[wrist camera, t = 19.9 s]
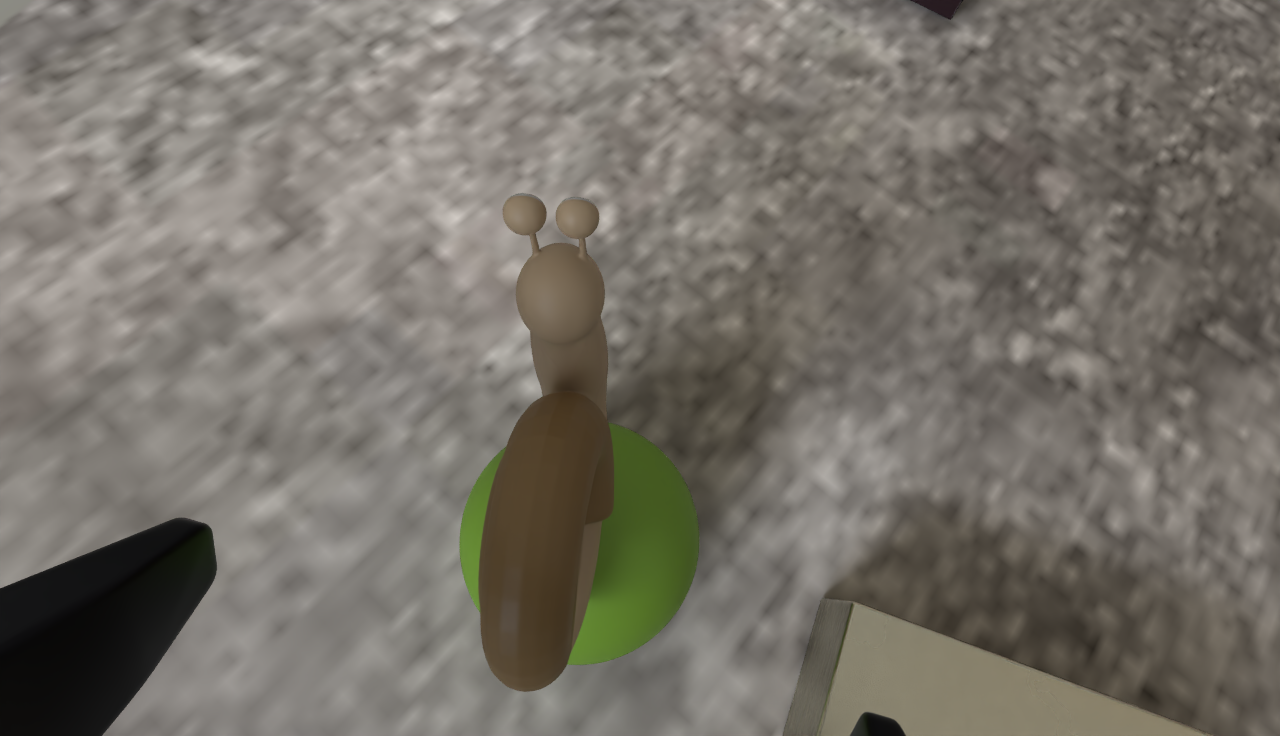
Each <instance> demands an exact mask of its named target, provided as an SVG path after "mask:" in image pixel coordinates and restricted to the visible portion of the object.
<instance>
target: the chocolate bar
mask: <svg viewBox="0 0 1280 736" xmlns="http://www.w3.org/2000/svg"><path fill="white" fill-rule="evenodd" d="M911 1H913V2H915V3H918V4H920V5H922V6H924V7H926V8H928V9H930V10H932V11H934V12H936V13H938V14H940V15H942V16H944V17H946V18H948V19H950V20H951V18H952V17H953V15H954V13H955V12H956V10H957V9H958V7H959V5H960V4H961V2H962V1H963V0H911Z"/></svg>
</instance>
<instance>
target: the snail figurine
mask: <svg viewBox="0 0 1280 736" xmlns="http://www.w3.org/2000/svg"><path fill="white" fill-rule="evenodd" d="M503 218H504V221H505V223H506V225H507V226H508V228H509V229H510V230H512V231H513V232H515V233H517V234H519V235H529V236H530V240H531V244H532V250H533V254H532V256H531V257H530V258H529V259H528V260H527V262H526V263H525V265H524V266H523V268H522V270H521V272H520V274H519V277H518V281H517V286H516V301H517V306H518V310H519V313H520V316H521V318H522V320H523V322H524V323H525V325H526V326H527V328H528V329H529V330H530V335H531V348H532V355H533V361H534V366H535V370H536V373H537V377H538V380H539V382H540V385H541V389H542V394H543V397H541V398H539V399H538V400H536V401H535V402H533V403H532V404H531V405H530V406H529V407H528V408H527V410H526V411H525V412H524V413H523V415H522V416H521V417H520V419H519V420H518V422H517V423H516V425H515V427H514V429H513V431H512V434H511V436H510V438H509V441H508V444H507V446H506V447H505V448H504V449H503V450H501V451H500V452H499V453H498V454H497V455H496V456H495V457H494V458H493V459H492V461H491V462H490V463H489V464H488V465H487V467H486V468H485V469H484V471H483V472H482V473H481V475H480V476H479V478H478V480H477V481H476V483H475V485H474V487H473V489H472V491H471V493H470V496H469V498H468V501H467V503H466V506H465V510H464V513H463V518H462V523H461V530H460V559H461V566H462V571H463V575H464V579H465V582H466V585H467V588H468V591H469V593H470V595H471V597H472V599H473V601H474V603H475V605H476V607H477V609H478V610H479V612H480V614H481V636H482V644H483V649H484V653H485V656H486V659H487V662H488V664H489V667H490V669H491V671H492V672H493V673H494V675H495V676H496V677H497V678H498V679H499V680H500V681H501V682H502V683H503V684H505V685H506V686H507V687H509V688H512V689H515V690H518V691H524V692H527V691H535V690H539V689H542V688H544V687H546V686H547V685H549V684H551V683H552V682H553V681H555V680H556V679H557V678H558V677H559V675H560V674H561V673H562V672H563V670H564V669H565V667H566V665H567V664H569V665H586V664H595V663H600V662H605V661H609V660H612V659H615V658H618V657H621V656H623V655H625V654H628V653H630V652H632V651H634V650H635V649H637V648H639V647H640V646H642V645H644V644H645V643H646V642H648V641H649V640H650V639H652V638H653V637H654V636H655V635H657V634H658V633H659V632H660V631H661V630H662V629H663V628H664V627H665V626H666V625H667V624H668V622H669V621H670V620H671V619H672V618H673V616H674V615H675V614H676V612H677V611H678V609H679V608H680V606H681V604H682V603H683V601H684V599H685V597H686V595H687V593H688V591H689V588H690V586H691V583H692V581H693V577H694V574H695V570H696V566H697V561H698V553H699V526H698V519H697V514H696V509H695V506H694V502H693V499H692V497H691V494H690V492H689V489H688V487H687V485H686V483H685V481H684V479H683V478H682V476H681V474H680V473H679V471H678V470H677V468H676V467H675V466H674V464H673V463H672V462H671V461H670V459H669V458H668V457H667V456H666V455H665V454H664V453H663V452H662V451H661V450H660V449H659V448H657V447H656V446H655V445H654V444H653V443H651V442H650V441H648V440H647V439H645V438H644V437H642V436H641V435H639V434H637V433H635V432H633V431H631V430H629V429H627V428H624V427H622V426H619V425H616V424H612V423H608V422H607V410H606V390H607V374H608V350H607V341H606V335H605V331H604V327H603V323H602V320H601V316H600V315H601V313H602V309H603V305H604V298H605V289H604V282H603V278H602V275H601V272H600V270H599V268H598V266H597V264H596V263H595V261H594V260H593V259H592V258H591V257H590V256H589V255H588V254H587V250H586V243H585V238H586V237H588V236H589V235H591V234H592V233H593V232H594V231H595V229H596V228H597V226H598V223H599V212H598V209H597V208H596V206H595V205H594V203H593V202H591V201H590V200H588V199H585V198H580V197H571V198H568V199H565V200H564V201H562V202H561V204H560V205H559V206H558V208H557V211H556V222H557V225H558V227H559V229H560V230H561V232H562V233H563V234H565V235H566V236H568V237H570V238H573V239H579V247H577V246H574V245H572V244H568V243H554V244H550V245H547V246H545V247H543V248H541V249H539V245H538V242H537V238H536V234H535V233H536V232H537V231H539V230H540V229H541V228H542V227H543V225H544V223H545V221H546V208H545V206H544V204H543V202H542V201H541V200H540V199H539V198H538V197H536V196H534V195H530V194H523V193H521V194H516V195H513V196H511V197H510V198H509V199H508V200H507V201H506V202H505V204H504V207H503Z"/></svg>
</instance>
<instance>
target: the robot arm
mask: <svg viewBox="0 0 1280 736" xmlns="http://www.w3.org/2000/svg"><path fill="white" fill-rule="evenodd" d="M216 571H217V562H216V555H215V548H214V540H213V533H212V530H211V528H210V527H209V526H208V525H207V524H205V523H201V522H198V521H194V520H191V519H187V518H176V519H172V520H170V521H167V522H165V523H162V524H160V525H157V526H155V527H152V528H150V529H147V530H145V531H142V532H140V533H137V534H135V535H132V536H130V537H127V538H125V539H122V540H120V541H117V542H115V543H112V544H110V545H107V546H105V547H102V548H100V549H97V550H95V551H92V552H90V553H87V554H85V555H82V556H80V557H77V558H75V559H72V560H70V561H67V562H65V563H62V564H60V565H58V566H55V567H53V568H50V569H48V570H45V571H43V572H40V573H38V574H35V575H33V576H30V577H28V578H25V579H23V580H20V581H18V582H15V583H13V584H10V585H8V586H5V587H3V588H0V736H102V735H103V734H104V733H105V731H106V730H107V729H108V728H109V727H110V725H111V724H112V723H113V722H114V720H115V719H116V718H117V717H118V716H119V714H120V713H121V712H122V711H123V710H124V708H125V707H126V706H127V705H128V703H129V702H130V701H131V700H132V698H133V697H134V696H135V695H136V693H137V692H138V691H139V690H140V688H141V687H142V686H143V684H144V683H145V682H146V680H147V679H148V678H149V676H150V675H151V673H152V672H153V671H154V669H155V668H156V666H157V665H158V663H159V662H160V660H161V659H162V657H163V656H164V654H165V653H166V651H167V650H168V649H169V647H170V646H171V644H172V643H173V641H174V640H175V638H176V637H177V635H178V634H179V632H180V631H181V629H182V628H183V626H184V625H185V623H186V622H187V620H188V619H189V617H190V616H191V615H192V613H193V612H194V610H195V609H196V607H197V606H198V604H199V603H200V601H201V600H202V598H203V597H204V595H205V594H206V592H207V591H208V589H209V588H210V586H211V585H212V583H213V581H214V579H215V575H216ZM850 736H906V735H905V733H904V731H903V729H902V728H901V726H900V725H899V724H898V722H897V721H895V720H894V719H892V718H889V717H886V716H882V715H879V714H875V713H871V712H865V713H863V714H862V715H861V716H860V718H859V719H858V721H857V723H856V725H855V727H854V729H853V731H852V733H851V735H850Z"/></svg>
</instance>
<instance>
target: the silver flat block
mask: <svg viewBox="0 0 1280 736" xmlns="http://www.w3.org/2000/svg"><path fill="white" fill-rule="evenodd" d="M865 712H871V713H875V714H879V715H882V716H886V717H889V718H892V719H894V720H895V721H897V722H898V724H899V725H900V726H901V728H902V729H903V731H904V733H905V735H906V736H1216V735H1213V734H1210V733H1208V732H1205V731H1202V730H1200V729H1197V728H1194V727H1192V726H1189V725H1186V724H1184V723H1181V722H1178V721H1175V720H1173V719H1170V718H1167V717H1165V716H1162V715H1159V714H1157V713H1154V712H1151V711H1149V710H1146V709H1143V708H1141V707H1138V706H1135V705H1133V704H1130V703H1127V702H1124V701H1122V700H1119V699H1116V698H1114V697H1111V696H1108V695H1106V694H1103V693H1100V692H1098V691H1095V690H1092V689H1090V688H1087V687H1084V686H1082V685H1079V684H1076V683H1073V682H1071V681H1068V680H1065V679H1063V678H1060V677H1057V676H1055V675H1052V674H1049V673H1047V672H1044V671H1041V670H1039V669H1036V668H1033V667H1031V666H1028V665H1025V664H1022V663H1020V662H1017V661H1014V660H1012V659H1009V658H1006V657H1004V656H1001V655H998V654H996V653H993V652H990V651H988V650H985V649H982V648H980V647H977V646H974V645H971V644H969V643H966V642H963V641H961V640H958V639H955V638H953V637H950V636H947V635H945V634H942V633H939V632H937V631H934V630H931V629H929V628H926V627H923V626H920V625H918V624H915V623H912V622H910V621H907V620H904V619H902V618H899V617H896V616H894V615H891V614H888V613H886V612H883V611H880V610H878V609H875V608H872V607H869V606H867V605H864V604H861V603H859V602H856V601H847V600H837V599H827V598H822V600H821V601H820V605H819V609H818V612H817V616H816V619H815V623H814V626H813V630H812V633H811V637H810V640H809V644H808V648H807V651H806V655H805V658H804V662H803V665H802V669H801V672H800V676H799V679H798V683H797V686H796V690H795V694H794V697H793V701H792V704H791V708H790V711H789V715H788V718H787V722H786V725H785V729H784V732H783V736H850V735H851V733H852V731H853V729H854V727H855V725H856V723H857V721H858V719H859V718H860V716H861V715H862V714H863V713H865Z"/></svg>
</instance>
